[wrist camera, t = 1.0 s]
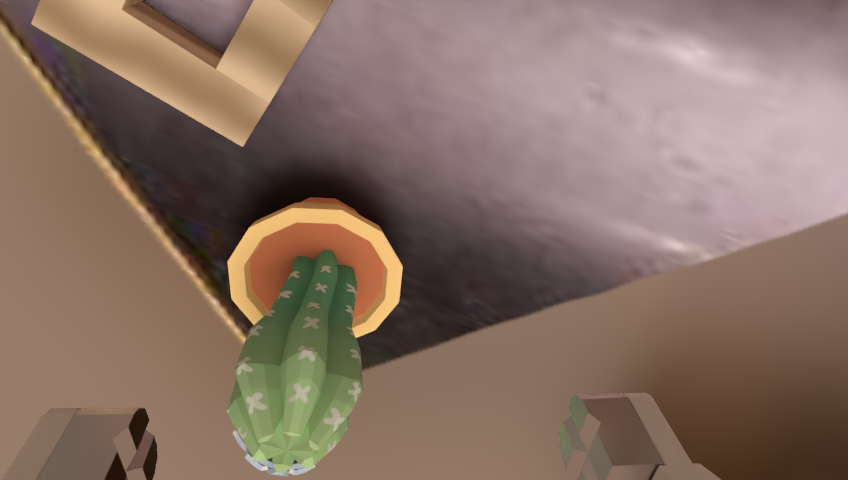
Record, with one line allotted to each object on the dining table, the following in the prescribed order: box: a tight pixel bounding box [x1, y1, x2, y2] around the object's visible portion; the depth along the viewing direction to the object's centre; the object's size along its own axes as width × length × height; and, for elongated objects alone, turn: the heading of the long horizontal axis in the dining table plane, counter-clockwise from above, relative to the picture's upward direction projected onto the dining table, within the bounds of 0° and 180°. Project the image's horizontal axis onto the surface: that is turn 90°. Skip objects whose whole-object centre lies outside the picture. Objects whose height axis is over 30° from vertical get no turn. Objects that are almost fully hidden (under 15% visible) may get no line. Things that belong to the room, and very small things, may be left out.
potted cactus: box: [226, 197, 403, 476], centre depth 42 cm, size 15×15×25 cm
